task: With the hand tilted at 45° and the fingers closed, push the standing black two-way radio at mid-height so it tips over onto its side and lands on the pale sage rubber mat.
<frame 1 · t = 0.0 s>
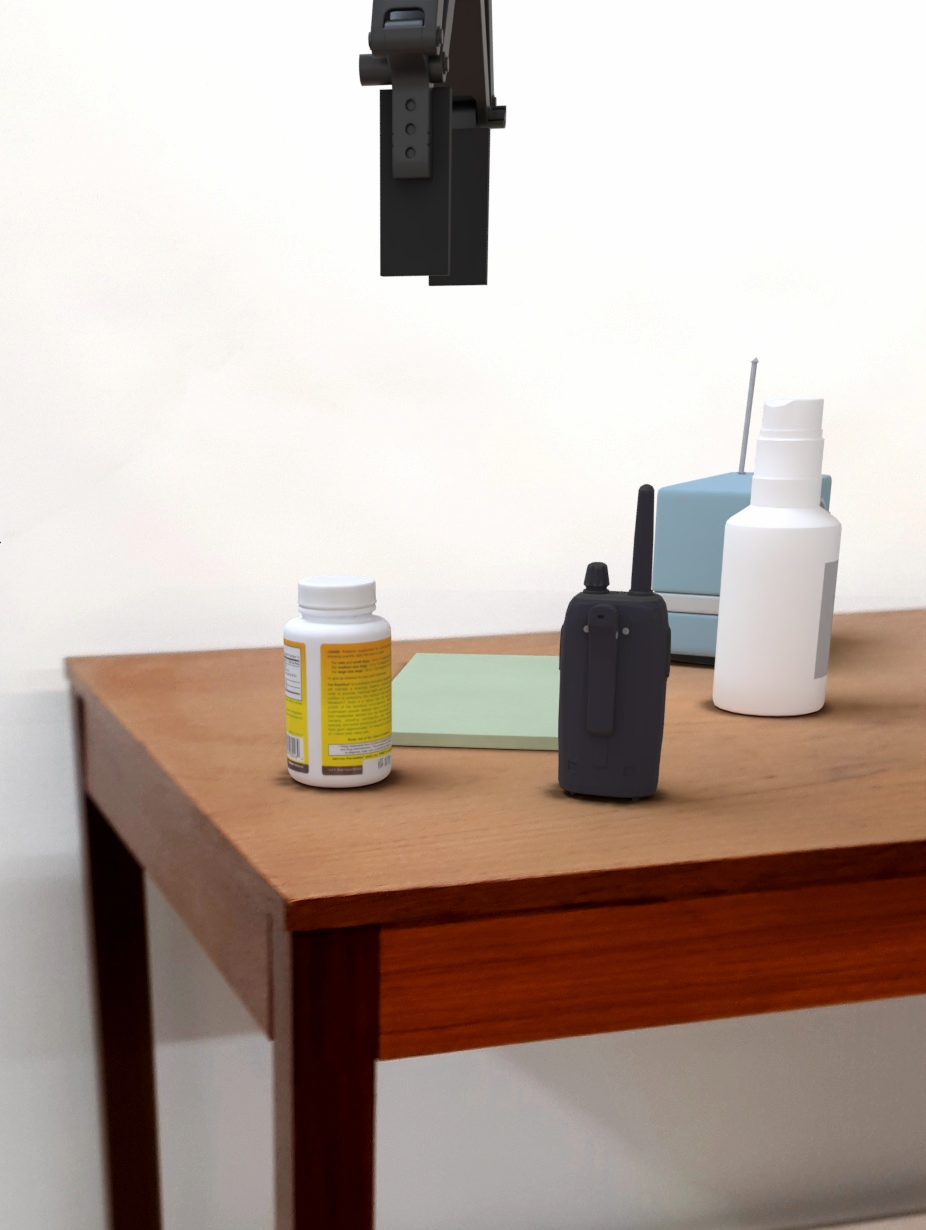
hand: (438, 282, 73), 24 cm above the table, tool pointing down, fingers open, 13 cm apart
spray bottle: (767, 709, 104), on the table
mat: (510, 703, 106), on the table
supplement bottle: (339, 781, 89), on the table
radio: (741, 654, 123), on the table
two-way radio: (603, 800, 84), on the table
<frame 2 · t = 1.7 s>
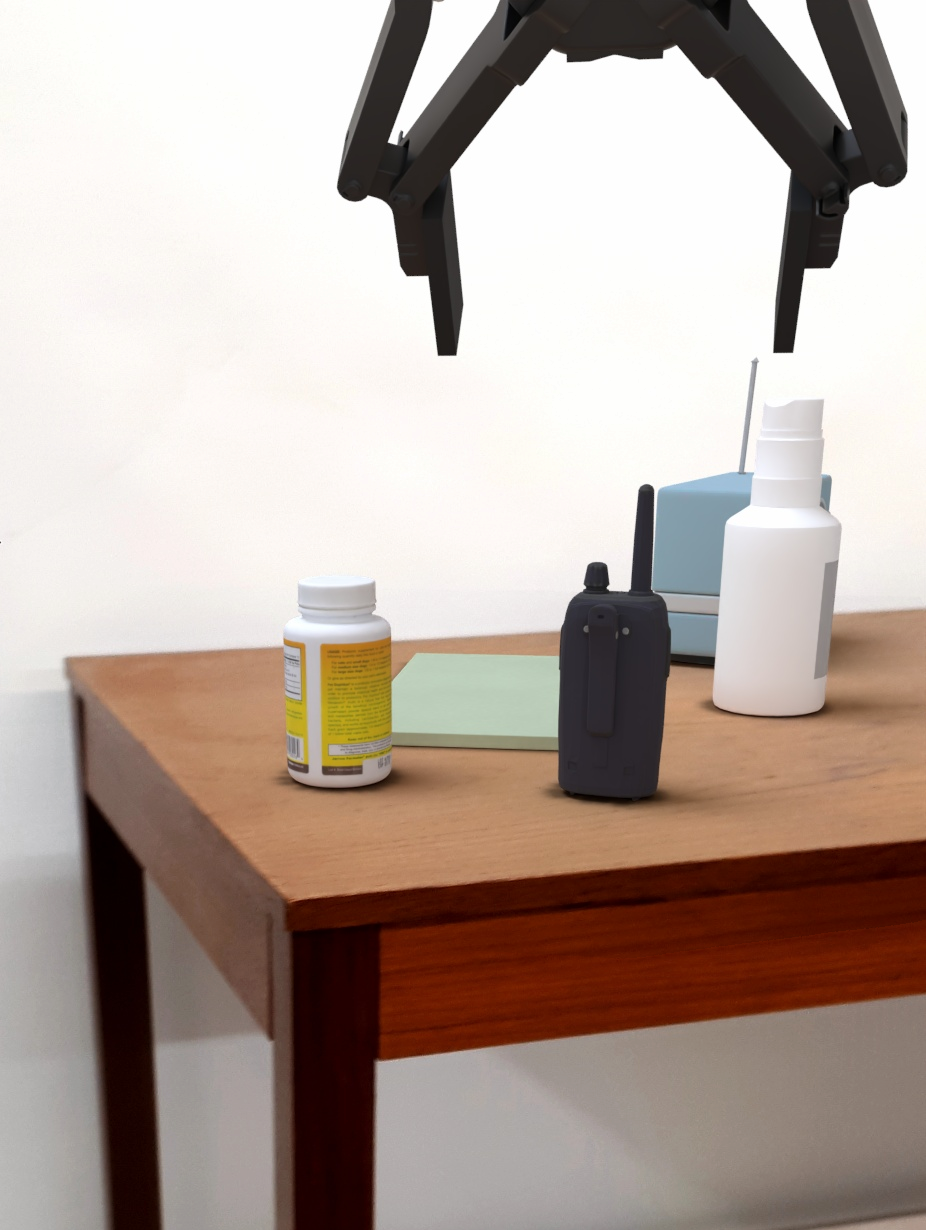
hand: (614, 329, 66), 22 cm above the table, tool tilted 45°, fingers open, 12 cm apart
nothing on the table moved.
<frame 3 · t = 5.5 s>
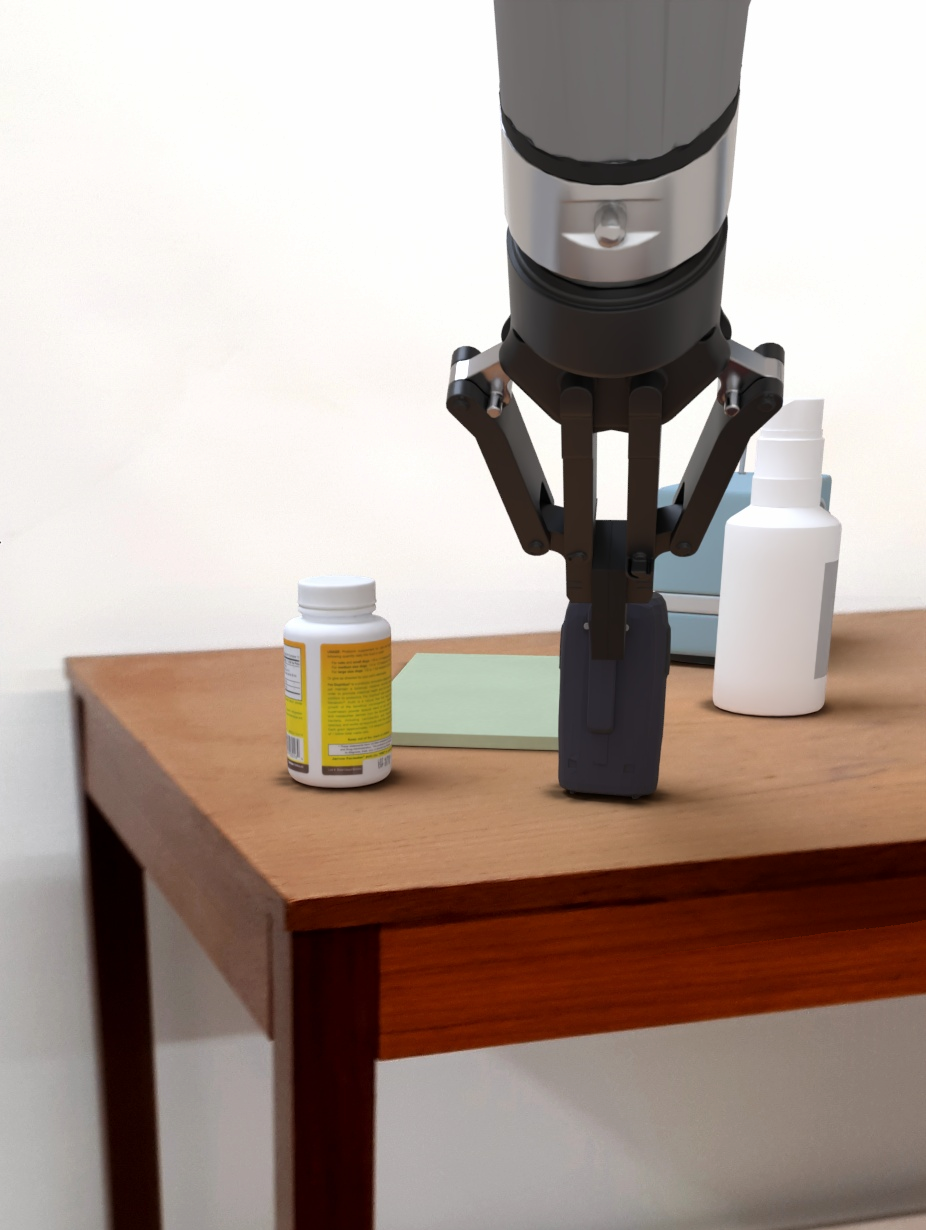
hand: (609, 635, 78), 9 cm above the table, tool tilted 45°, fingers closed
two-way radio: (603, 799, 84), on the table, touching gripper
everything else where it was.
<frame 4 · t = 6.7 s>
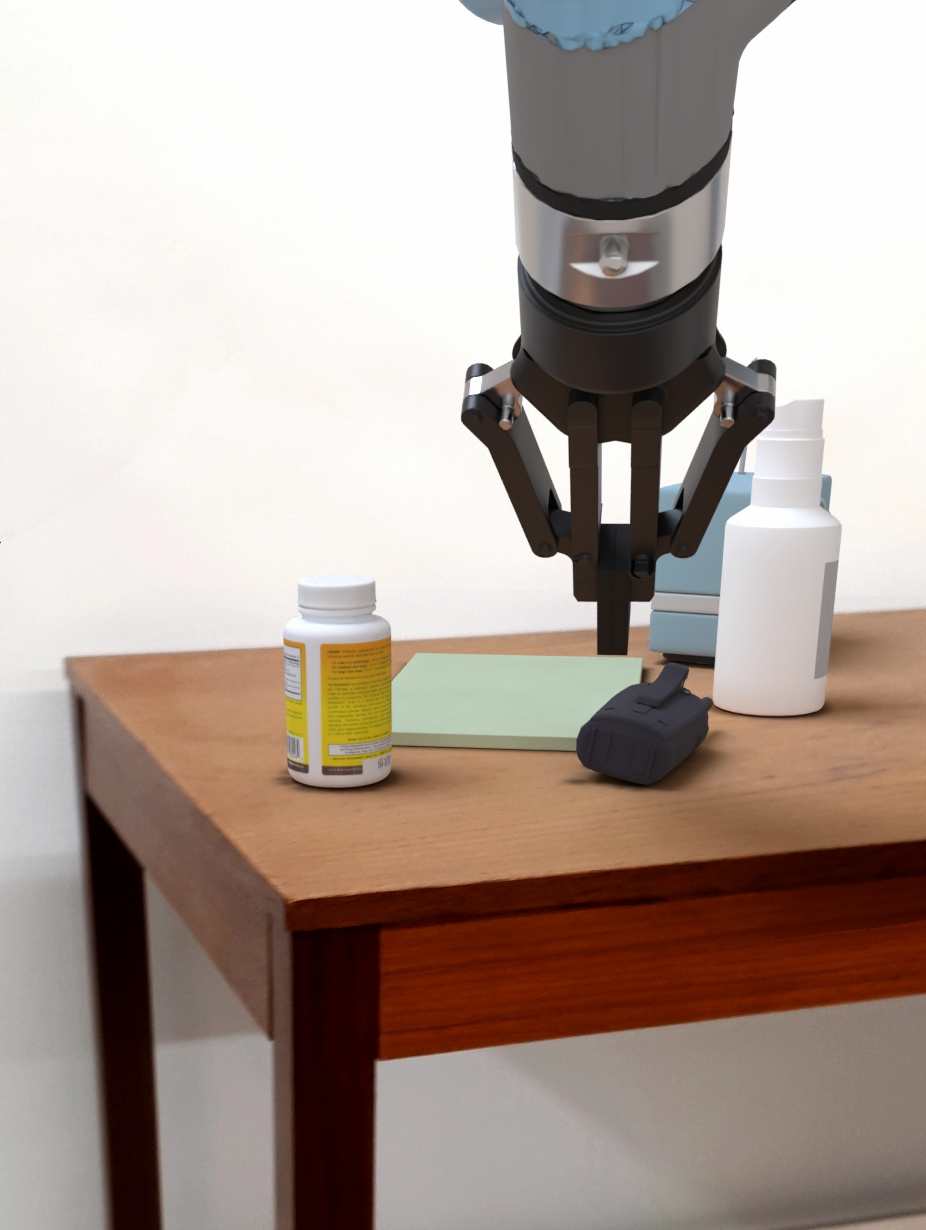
hand: (613, 632, 83), 8 cm above the table, tool tilted 45°, fingers closed
two-way radio: (621, 741, 85), point 2 cm above the table
everything else where it was.
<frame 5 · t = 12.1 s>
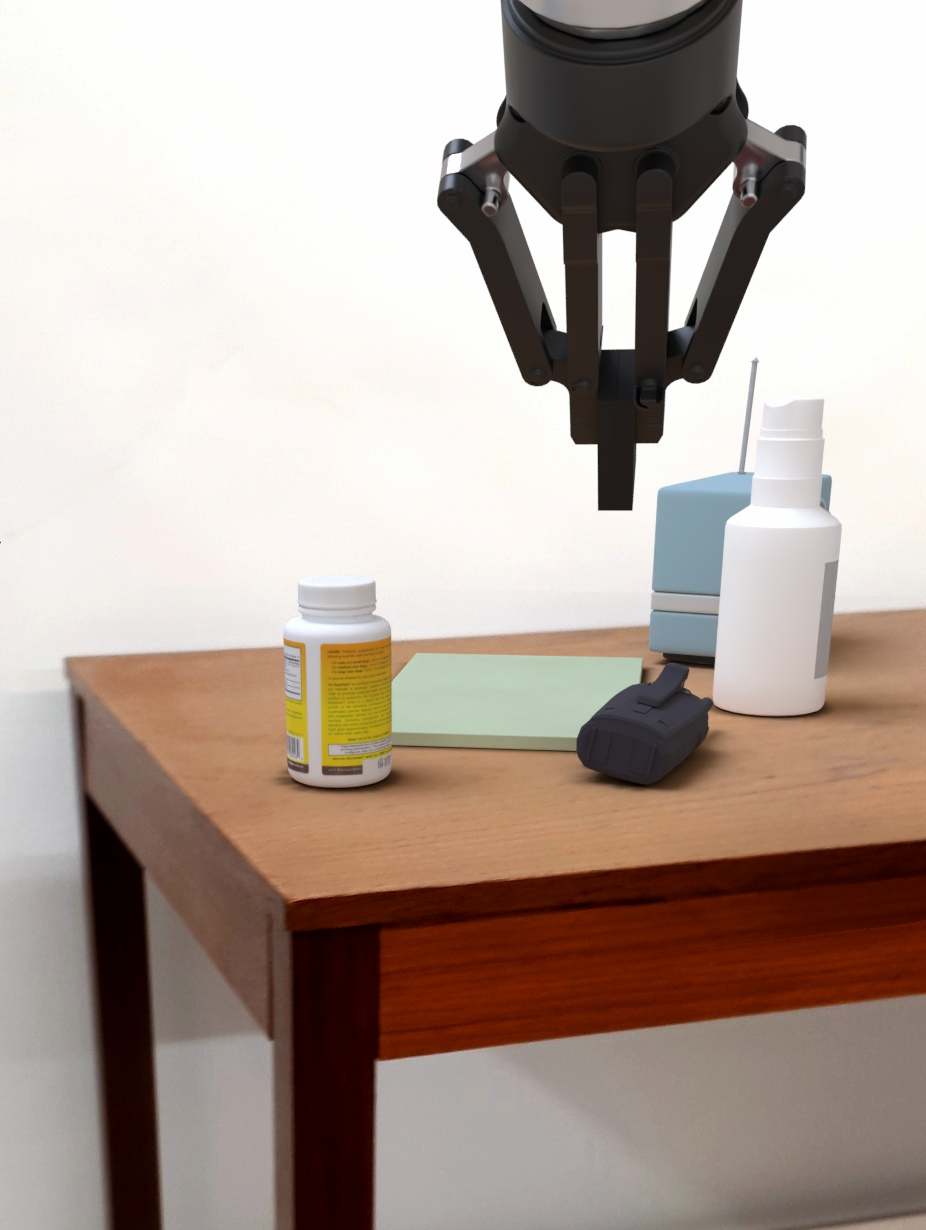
hand: (617, 485, 73), 15 cm above the table, tool tilted 45°, fingers closed
two-way radio: (622, 741, 85), point 2 cm above the table, touching mat
everything else where it was.
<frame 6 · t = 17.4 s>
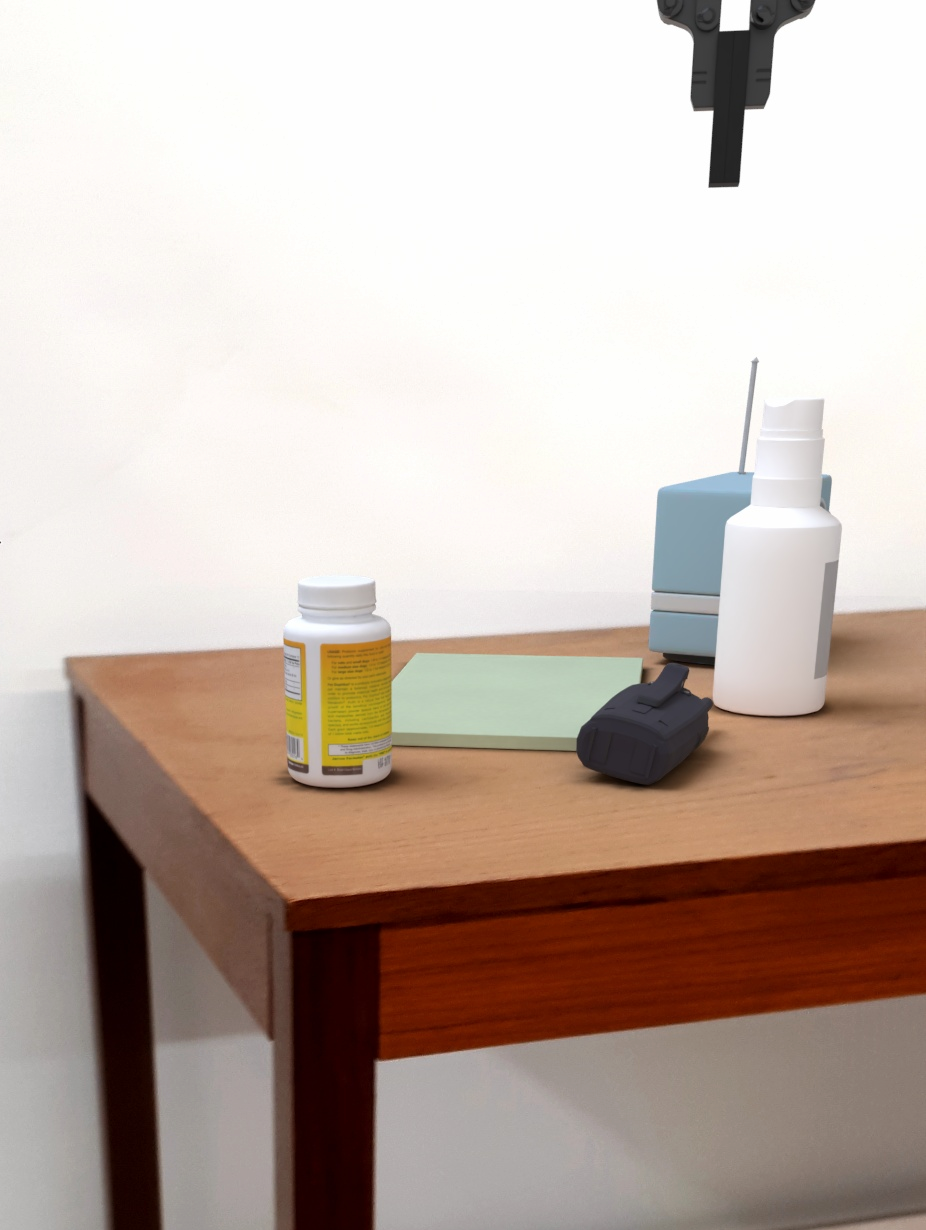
hand: (723, 184, 83), 28 cm above the table, tool pointing down, fingers closed
nothing on the table moved.
at the end: two-way radio tilted 89°; two-way radio touching mat, table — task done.
